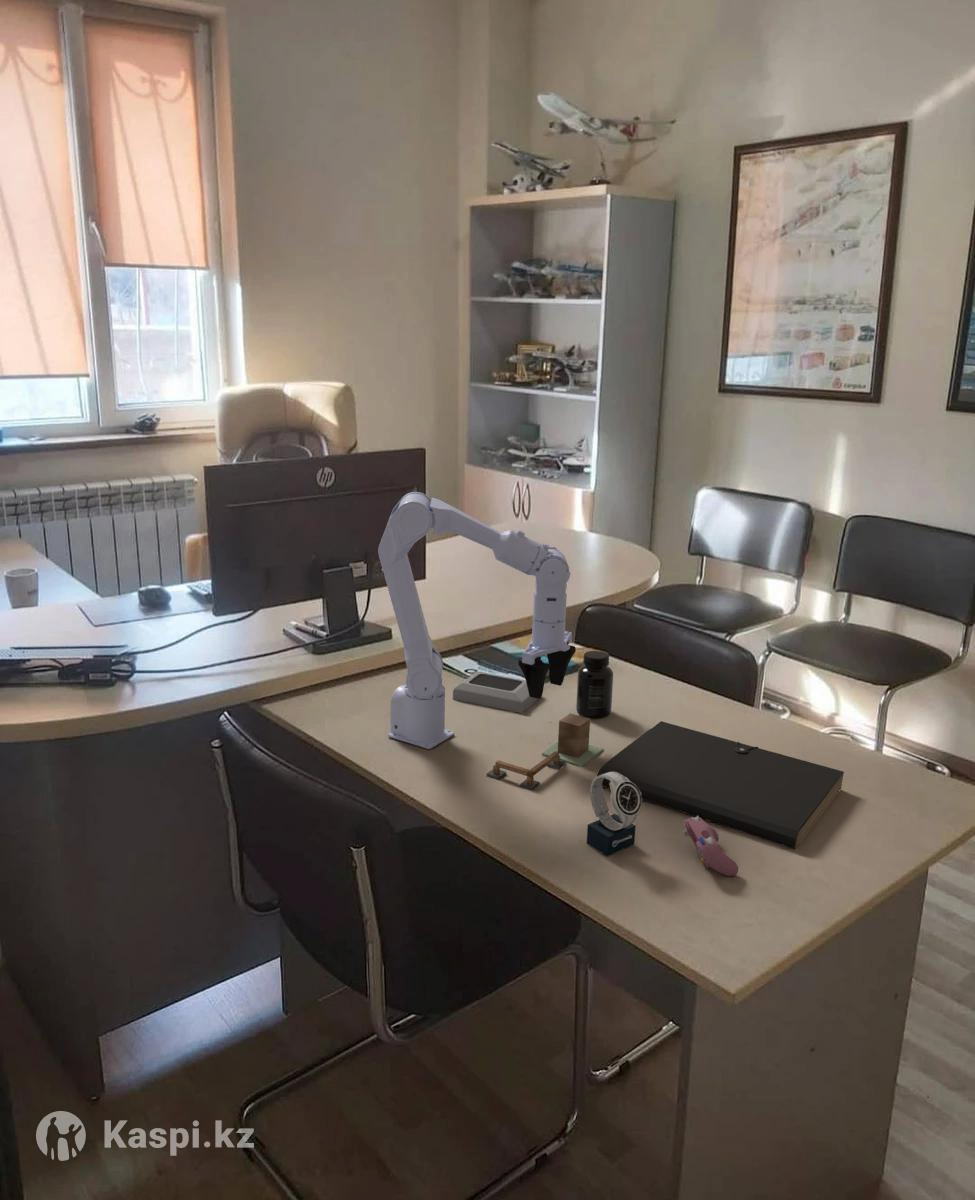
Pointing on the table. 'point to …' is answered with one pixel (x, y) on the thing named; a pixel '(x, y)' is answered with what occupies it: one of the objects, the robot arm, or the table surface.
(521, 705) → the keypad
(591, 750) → the mat
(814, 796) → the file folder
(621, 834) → the watch
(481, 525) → the robot arm
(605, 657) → the supplement bottle
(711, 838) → the pink curved piece
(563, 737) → the block
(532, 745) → the table surface
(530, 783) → the brown angled rail
